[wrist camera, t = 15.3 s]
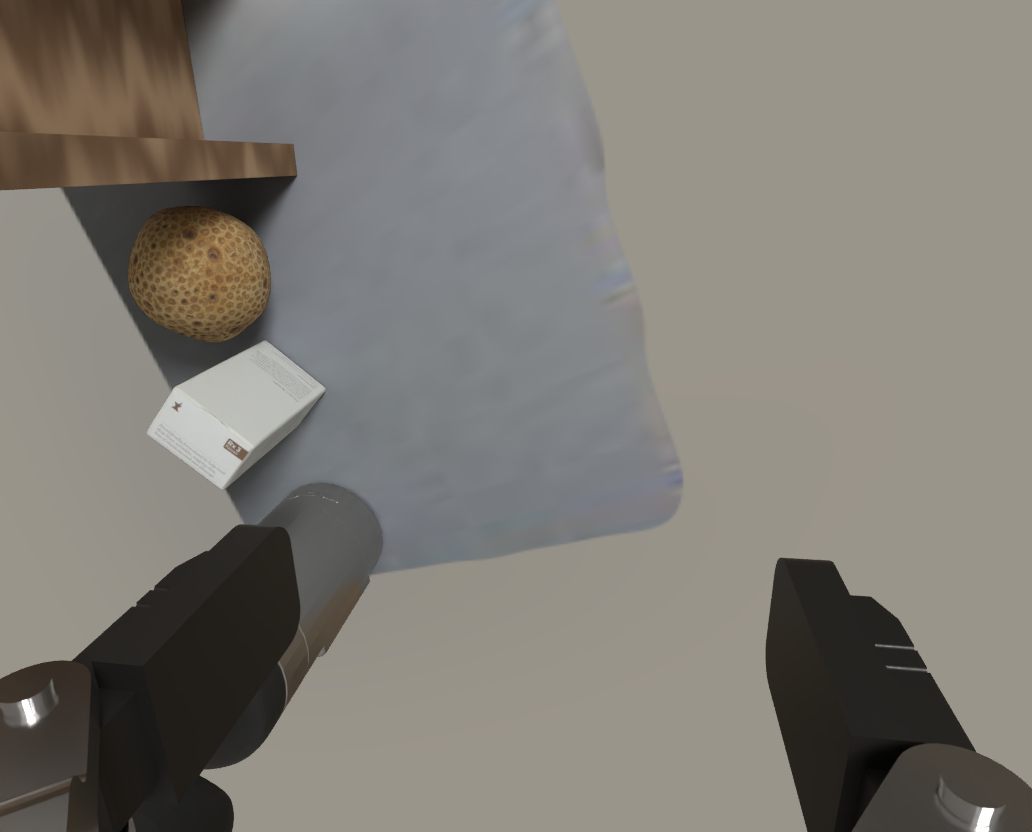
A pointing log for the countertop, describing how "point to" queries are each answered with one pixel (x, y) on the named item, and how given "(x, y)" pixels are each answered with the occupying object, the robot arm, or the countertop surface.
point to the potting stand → (109, 100)
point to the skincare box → (235, 412)
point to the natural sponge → (199, 273)
